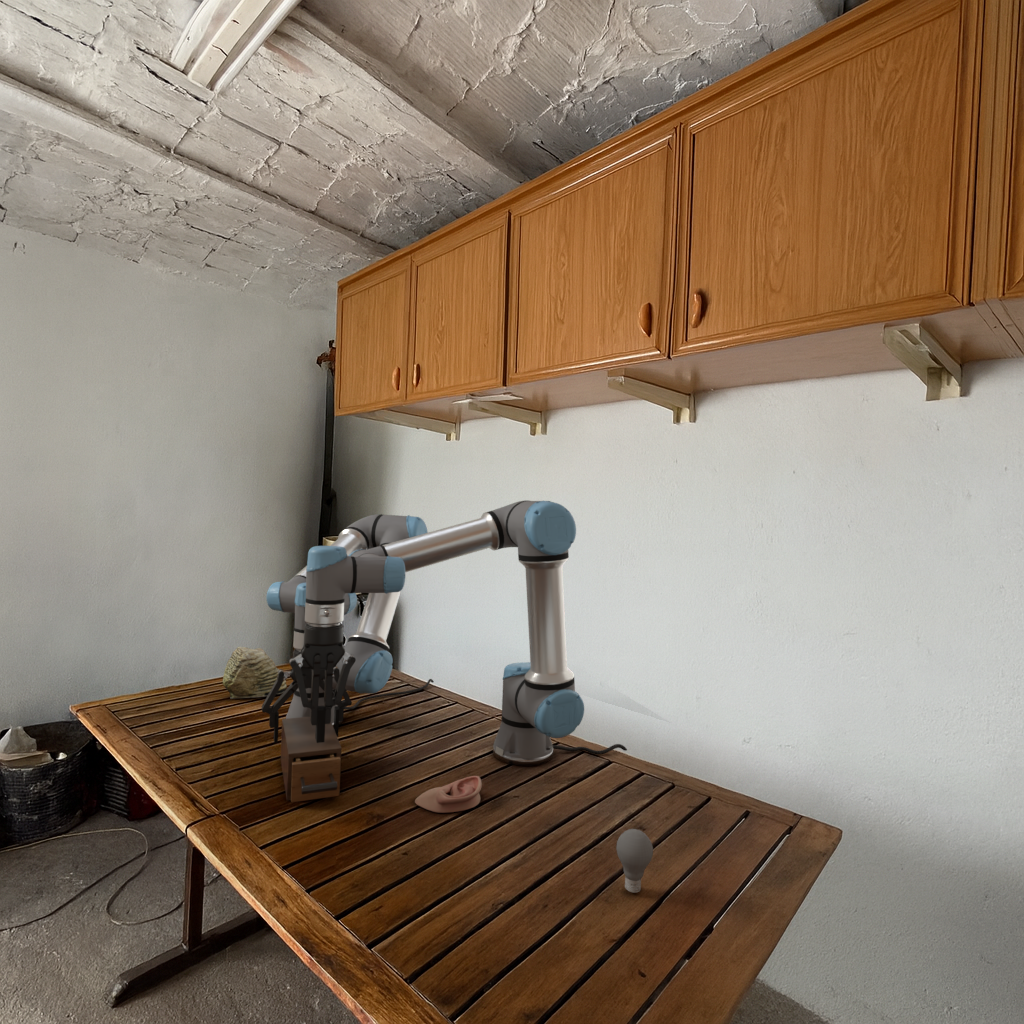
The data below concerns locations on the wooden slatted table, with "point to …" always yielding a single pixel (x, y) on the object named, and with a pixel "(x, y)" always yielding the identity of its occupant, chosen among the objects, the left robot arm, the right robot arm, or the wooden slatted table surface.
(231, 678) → the fossil
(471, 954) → the wooden slatted table surface
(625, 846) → the light bulb
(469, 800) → the anatomical model
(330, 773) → the drawer
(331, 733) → the cabinet
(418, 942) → the wooden slatted table surface
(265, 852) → the wooden slatted table surface
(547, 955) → the wooden slatted table surface
